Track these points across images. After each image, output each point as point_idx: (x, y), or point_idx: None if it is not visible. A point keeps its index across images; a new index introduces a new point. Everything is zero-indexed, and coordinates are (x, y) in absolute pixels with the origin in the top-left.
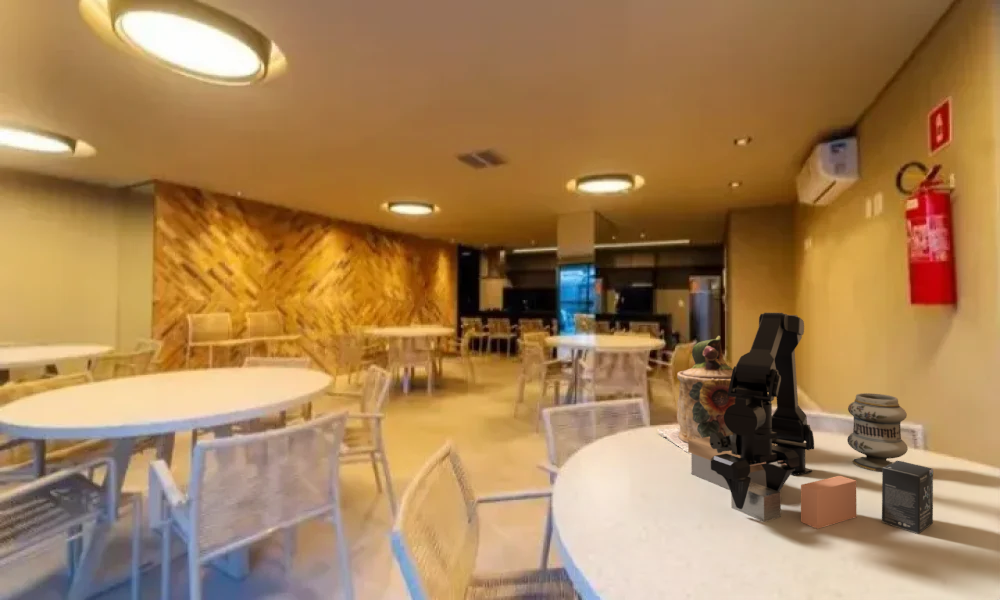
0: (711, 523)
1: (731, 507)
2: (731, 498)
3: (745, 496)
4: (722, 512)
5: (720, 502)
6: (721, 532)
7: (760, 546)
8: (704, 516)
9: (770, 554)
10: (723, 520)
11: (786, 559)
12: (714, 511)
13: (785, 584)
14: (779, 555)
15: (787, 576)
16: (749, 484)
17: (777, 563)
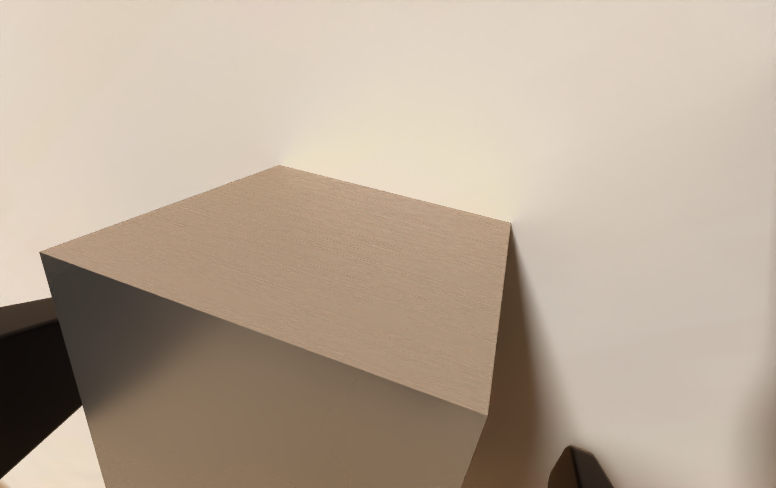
0: (6, 194)
1: (275, 167)
2: (221, 187)
3: (29, 441)
4: (153, 161)
5: (295, 21)
6: (4, 272)
7: (77, 415)
8: (12, 112)
9: (72, 445)
10: (84, 224)
11: (96, 482)
12: (114, 110)
13: (14, 479)
14: (94, 466)
15: (39, 483)
16: (287, 463)
17: (57, 463)
